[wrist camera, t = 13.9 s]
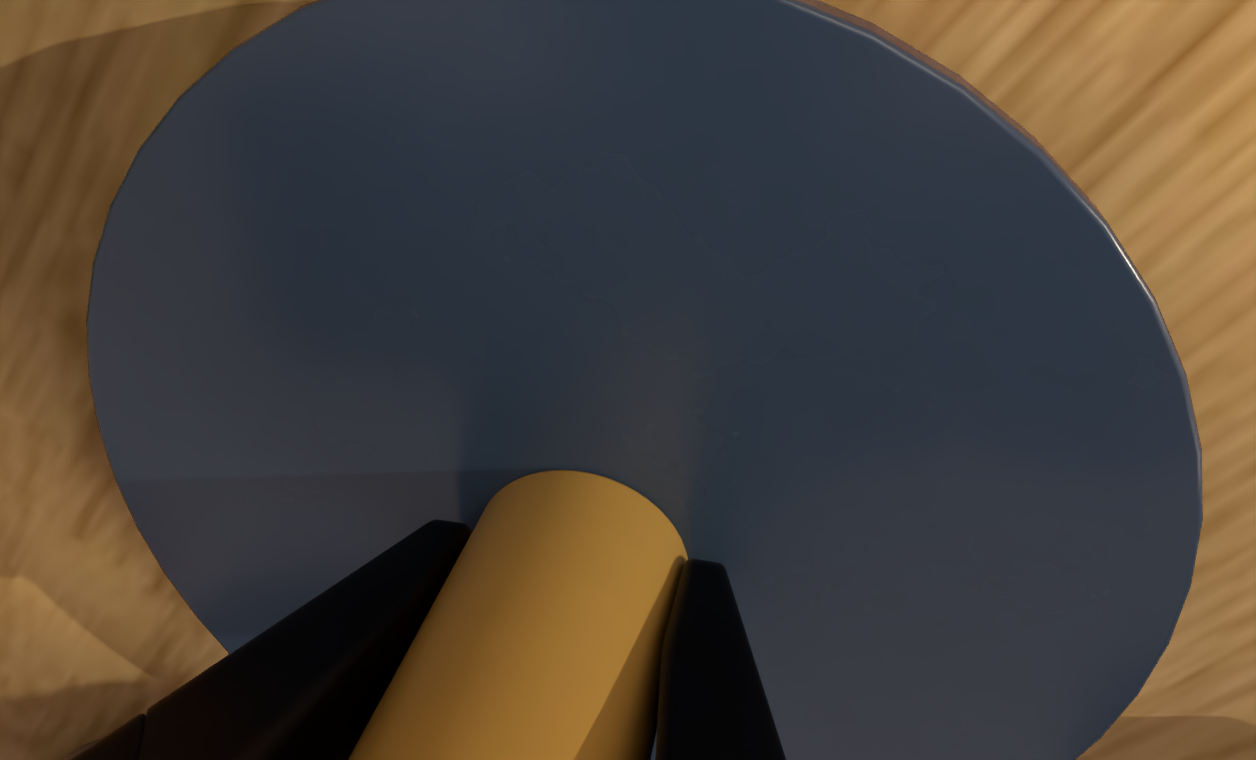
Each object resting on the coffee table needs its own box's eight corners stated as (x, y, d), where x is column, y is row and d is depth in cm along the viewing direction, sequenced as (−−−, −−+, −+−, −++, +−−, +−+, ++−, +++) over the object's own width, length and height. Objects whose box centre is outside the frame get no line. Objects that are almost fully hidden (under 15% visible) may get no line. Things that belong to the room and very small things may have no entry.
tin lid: (1007, 868, 13) (1092, 1389, 8) (267, 717, 15) (33, 1070, 10) (1404, -40, 6) (2620, 201, 2) (-1, -75, 8) (-878, 2, 4)
